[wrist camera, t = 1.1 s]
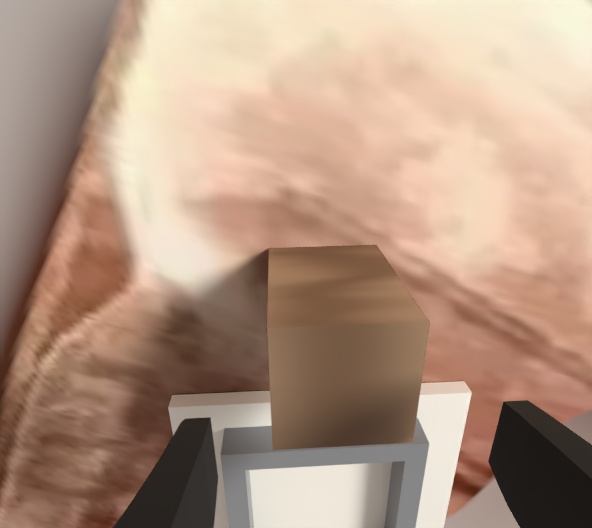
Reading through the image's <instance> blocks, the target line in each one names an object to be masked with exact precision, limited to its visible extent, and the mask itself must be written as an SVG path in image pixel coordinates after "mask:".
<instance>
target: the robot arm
mask: <svg viewBox="0 0 592 528" xmlns="http://www.w3.org/2000/svg"><path fill="white" fill-rule="evenodd" d="M488 462H489V464H490V466H491V469H492V471H493V473H494V476H495V478H496V480H497V483H498V485H499V487H500V490H501V492H502V494H503V496H504V498H505V501H506V502H507V505H508V507H509V509H510V510H511V512H512V514H513V516H514V518H515V519H516V521H517V523H518V525H519V526H520V528H592V445H591V444H590V443H588V442H587V441H585V440H584V439H583V438H581V437H580V436H578V435H577V434H575V433H574V432H573V431H571V430H570V429H568V428H567V427H566V426H564V425H563V424H561V423H560V422H558V421H557V420H556V419H554V418H553V417H551V416H550V415H548V414H547V413H546V412H544V411H543V410H541V409H540V408H538V407H537V406H535V405H534V404H532V403H531V402H529V401H528V400H527V401H508V402H503V406H502V410H501V414H500V418H499V422H498V426H497V430H496V434H495V438H494V442H493V445H492V449H491V453H490V457H489V461H488ZM217 486H218V472H217V464H216V456H215V449H214V441H213V433H212V425H211V417H207V418H188V419H184V420H183V421H182V422H181V423H180V425H179V426H178V428H177V430H176V432H175V434H174V435H173V437H172V439H171V441H170V442H169V444H168V446H167V447H166V449H165V451H164V452H163V454H162V456H161V457H160V459H159V460H158V462H157V464H156V465H155V467H154V468H153V470H152V472H151V473H150V475H149V476H148V478H147V479H146V481H145V482H144V484H143V485H142V487H141V488H140V490H139V491H138V493H137V494H136V496H135V497H134V499H133V500H132V502H131V503H130V505H129V506H128V508H127V509H126V511H125V512H124V513H123V515H122V516H121V518H120V519H119V520H118V522H117V523H116V524H115V526H114V527H113V528H214V520H215V509H216V498H217Z"/></svg>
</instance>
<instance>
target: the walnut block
mask: <svg viewBox="0 0 592 528" xmlns="http://www.w3.org/2000/svg"><path fill="white" fill-rule="evenodd" d="M429 327H430V321H429V320H428V318H427V317H426V315H425V314H424V313H423V311H422V310H421V308H420V307H419V305H418V304H417V302H416V301H415V300H414V298H413V297H412V295H411V294H410V292H409V291H408V290H407V288H406V287H405V285H404V284H403V282H402V281H401V279H400V278H399V277H398V275H397V274H396V272H395V271H394V269H393V268H392V267H391V265H390V264H389V262H388V261H387V259H386V258H385V257H384V255H383V254H382V252H381V251H380V249H379V248H378V246H377V245H358V246H326V247H293V248H269V260H268V305H267V340H268V361H269V382H270V403H271V424H272V446H273V450H286V449H305V448H323V447H342V446H360V445H378V444H397V443H413V439H414V432H415V425H416V418H417V411H418V404H419V397H420V390H421V383H422V376H423V369H424V362H425V355H426V348H427V341H428V334H429Z"/></svg>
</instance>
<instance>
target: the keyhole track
mask: <svg viewBox="0 0 592 528" xmlns="http://www.w3.org/2000/svg"><path fill="white" fill-rule="evenodd" d="M471 393H472V392H471V391H470V389H469V388H468V386H467V385H466V383H465V382H464V381H457V382H437V383H421V390H420V397H419V404H418V411H417V418H416V425H415V432H414V439H413V443H397V444H378V445H360V446H342V447H323V448H305V449H286V450H273V446H272V424H271V403H270V391H249V392H229V393H208V394H187V395H172V397H171V400H170V403H169V406H168V410H169V415H170V421H171V427H172V432H173V435H174V434H175V432H176V430H177V428H178V426H179V425H180V423H181V422H182V421H183V420H184V419H188V418H207V417H211V425H212V433H213V441H214V449H215V456H216V464H217V472H218V486H217V498H216V509H215V520H214V528H444V523H445V518H446V513H447V509H448V504H449V499H450V494H451V489H452V485H453V480H454V475H455V470H456V465H457V461H458V456H459V451H460V446H461V441H462V437H463V432H464V427H465V422H466V417H467V413H468V408H469V403H470V398H471Z"/></svg>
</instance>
